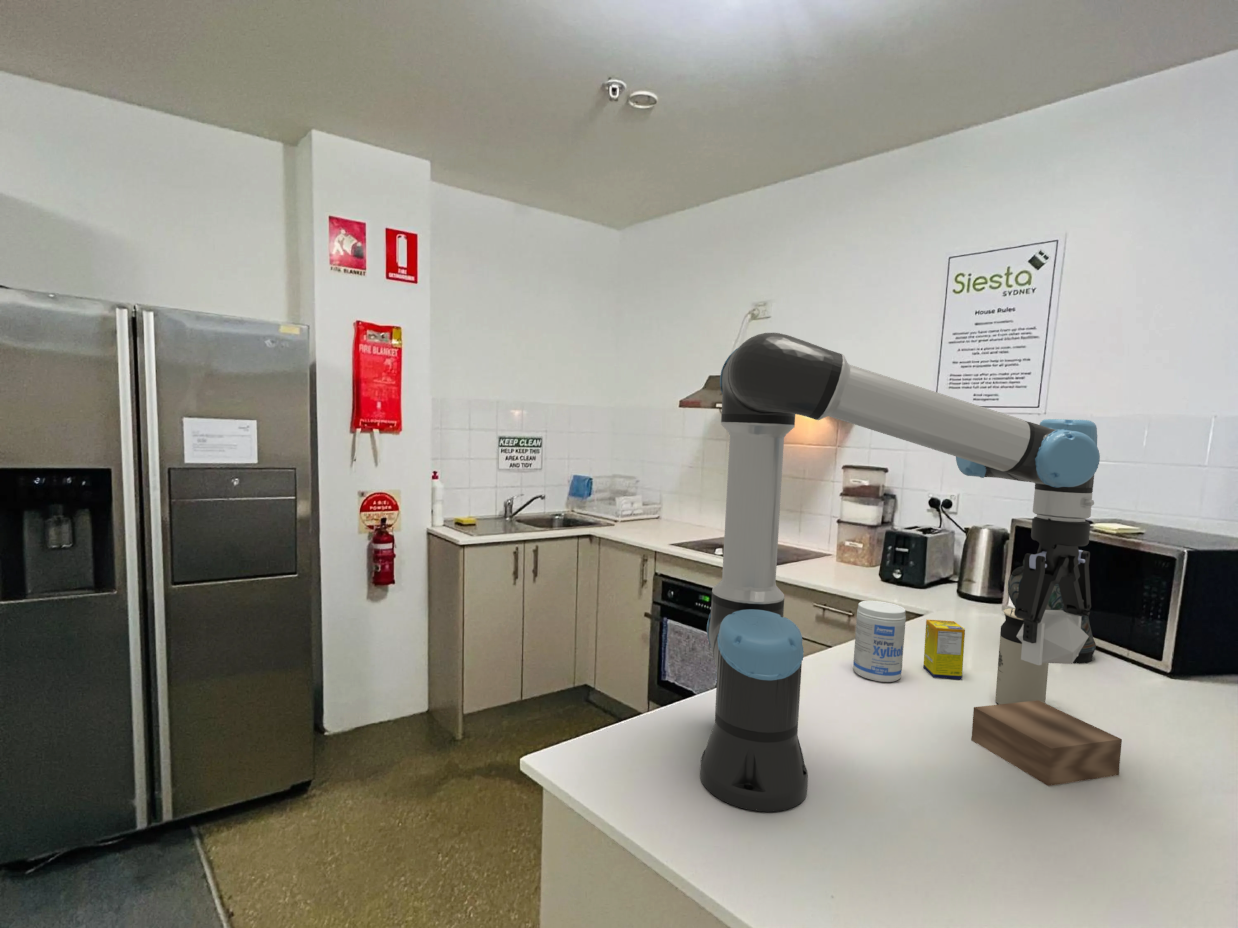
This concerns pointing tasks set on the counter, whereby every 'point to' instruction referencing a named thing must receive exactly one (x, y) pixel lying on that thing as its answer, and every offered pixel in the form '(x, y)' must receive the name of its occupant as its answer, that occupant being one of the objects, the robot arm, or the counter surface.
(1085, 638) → the die
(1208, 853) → the counter surface
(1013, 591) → the beer stein
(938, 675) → the supplement box
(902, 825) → the counter surface
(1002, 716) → the walnut block
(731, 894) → the counter surface
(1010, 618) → the travel mug
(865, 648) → the supplement tub
